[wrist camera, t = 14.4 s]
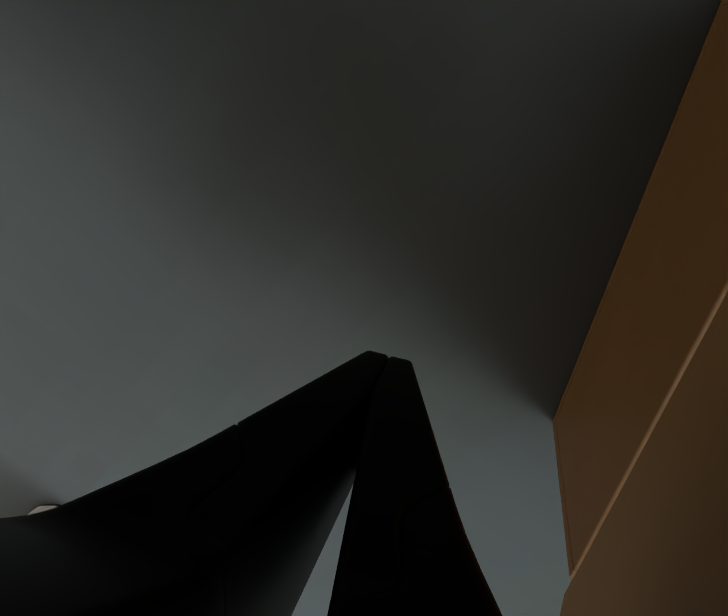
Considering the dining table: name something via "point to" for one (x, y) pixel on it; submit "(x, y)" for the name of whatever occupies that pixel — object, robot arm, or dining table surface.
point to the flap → (669, 507)
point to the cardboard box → (650, 305)
